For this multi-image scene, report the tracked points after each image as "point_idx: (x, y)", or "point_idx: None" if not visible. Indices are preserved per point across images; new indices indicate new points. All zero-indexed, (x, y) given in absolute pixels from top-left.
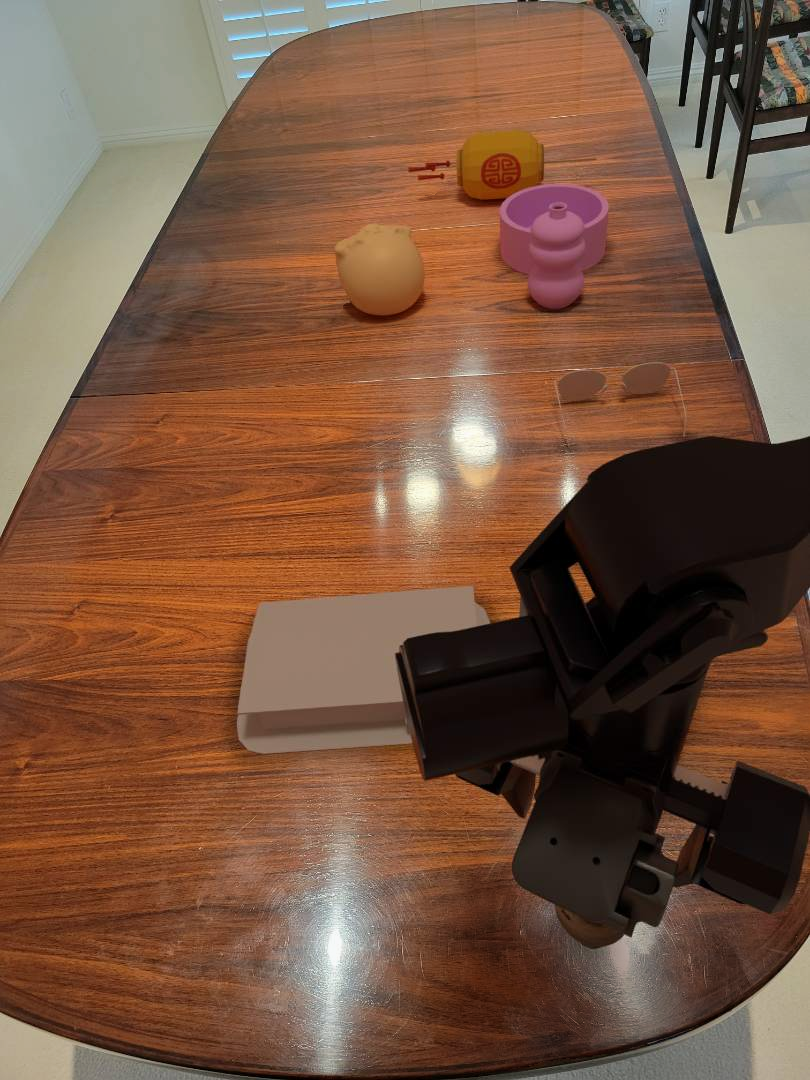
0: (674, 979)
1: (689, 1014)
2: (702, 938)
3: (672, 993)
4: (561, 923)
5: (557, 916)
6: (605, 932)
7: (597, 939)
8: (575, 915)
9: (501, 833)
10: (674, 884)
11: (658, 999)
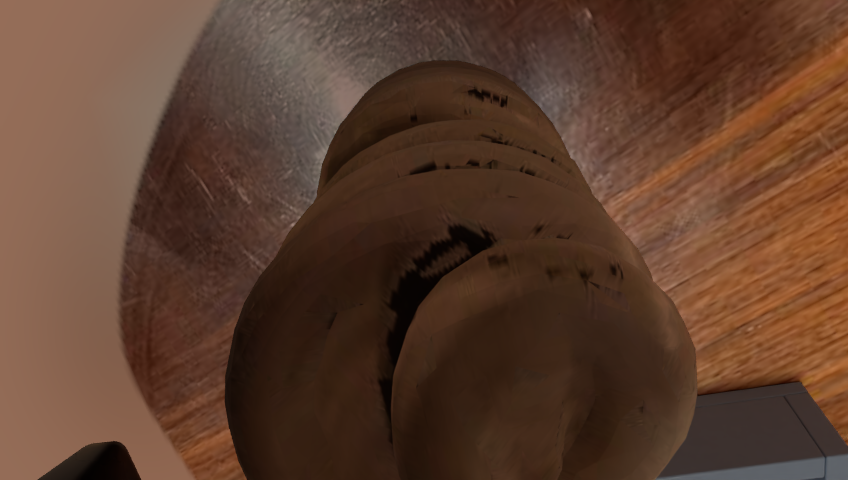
0: (243, 139)
1: (179, 94)
2: (245, 245)
3: (230, 110)
4: (494, 73)
5: (515, 85)
6: (356, 123)
7: (373, 93)
8: (459, 112)
9: (744, 193)
10: (71, 468)
11: (246, 80)
